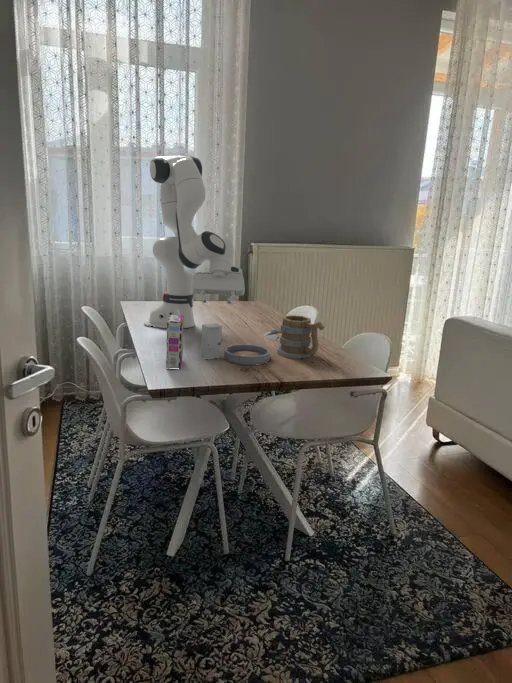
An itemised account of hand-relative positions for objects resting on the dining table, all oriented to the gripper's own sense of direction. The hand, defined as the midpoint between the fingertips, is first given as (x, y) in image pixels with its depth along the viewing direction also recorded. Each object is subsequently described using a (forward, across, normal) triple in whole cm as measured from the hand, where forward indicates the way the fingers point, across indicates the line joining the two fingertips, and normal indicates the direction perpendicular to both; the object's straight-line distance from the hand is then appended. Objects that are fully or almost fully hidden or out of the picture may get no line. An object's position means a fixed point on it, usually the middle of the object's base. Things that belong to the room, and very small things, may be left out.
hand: (216, 302), depth 194 cm
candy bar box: (+29, -11, -3) cm, 32 cm away
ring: (-5, +27, +32) cm, 42 cm away
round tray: (+20, +12, +6) cm, 24 cm away
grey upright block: (+21, 0, +5) cm, 22 cm away
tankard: (+15, +32, +12) cm, 38 cm away
